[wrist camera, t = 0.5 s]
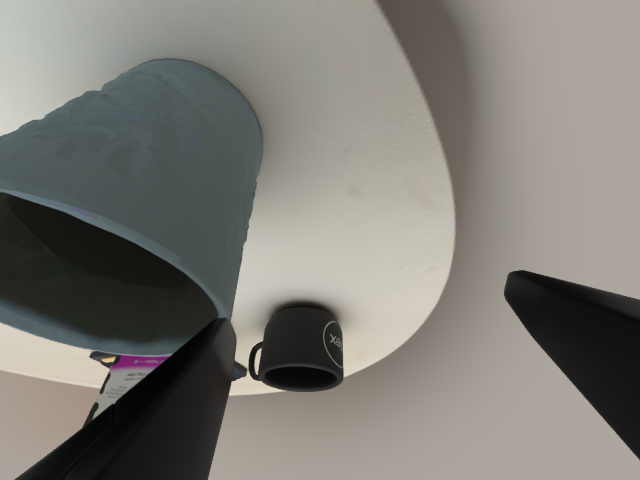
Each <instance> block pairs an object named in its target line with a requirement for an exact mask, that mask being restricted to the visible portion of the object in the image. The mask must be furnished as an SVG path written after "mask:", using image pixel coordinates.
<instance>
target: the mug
mask: <svg viewBox="0 0 640 480" xmlns="http://www.w3.org/2000/svg"><path fill="white" fill-rule="evenodd" d="M260 348H262V351H261V358H260V364H259V370H258V375H256V373H255V366H254V363H255V356H256V353H257V351H258V350H259V349H260ZM249 373H250V375H251V377H252V378H253V379H254V380H257V381H262V382H263V383H265V384H266V385H268V386H271V387H274V388H277V389H281V390H287V391H295V392H314V391H315V392H316V391H323V390H328V389H331V388H334V387H336V386H338V385H339V384H340V383H341V382H342V381H343V342H342V331H341V327H340V325H339V323H338V322H337V320H336V319H335V318H334V317H333V316H332V315H331V314H329V313H327V312H325V311H323V310H319V309H315V308H310V307H294V308H288V309H284V310H281V311H279V312H277V313H276V314H275V315H273V317H272V318H271V319H270V320H269V322H268V324H267V326H266V328H265V332H264V338H263V341H262V342H260V343H258V344H256V345H255V346H254V347H253V348H252V350H251V353H250V356H249Z"/></svg>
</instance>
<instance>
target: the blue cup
mask: <svg viewBox="0 0 640 480" xmlns="http://www.w3.org/2000/svg"><path fill="white" fill-rule="evenodd" d="M262 154H263V139H262V134H261V130H260V126H259V123H258V121H257V118H256V116H255V114H254V112H253V111H252V109H251V107H250V105H249V104H248V102H247V101H246V100H245V99H244V97H243V96H242V95H241V94H240V93H239V92H238V91H237V90H236V89H235V88H234V87H233V86H232V85H231V84H230V83H229V82H228V81H226V80H225V79H224V78H223V77H221V76H219V75H218V74H216V73H214V72H213V71H211V70H209V69H208V68H205V67H203V66H201V65H199V64H195V63H192V62H188V61H182V60H176V59H159V60H151V61H148V62H145V63H142V64H140V65H139V66H137V67H135V68H133V69H131V70H129V71H128V72H126V73H123V74H121V75H120V76H118V77H117V78H116V79H115V80H113V81H111V82H109V83H107V84H104V86H103V88H102V90H101V91H87V92H85V93H84V94H83V95H81V96H80V97H77V98H75V99H72V100H70V101H68V102H67V103H66V104H64V105H63V106H62V107H60V108H57V109H56V110H54V111H52V112H50V113H49V114H47V115H46V116H45V118H43V119H41V120H32V121H30V122H28V123H26V124H24V125H22V126H21V127H20V128H19V129H18V130H16V131H14V132H12V133H9V134H6V135H2V136H1V137H0V323H3V324H5V325H8V326H10V327H13V328H16V329H19V330H21V331H24V332H27V333H30V334H32V335H35V336H39V337H42V338H45V339H48V340H52V341H55V342H59V343H63V344H67V345H71V346H74V347H78V348H83V349H88V350H94V351H99V352H104V353H110V354H117V355H127V356H143V357H166V356H171V355H172V354H173V353H174V352H176V351H177V350H178V349H179V348H180V347H182V346H183V345H184V344H185V343H186V342H188V341H189V340H190V339H191V338H192V337H194V336H195V335H196V334H197V333H198V332H200V331H201V330H202V329H203V328H204V327H206V326H207V325H208V324H209V323H211V322H212V321H213V320H214V319H216V318H222V317H227V318H229V320H230V322H231V317H232V311H233V305H234V299H235V294H236V288H237V283H238V277H239V271H240V266H241V261H242V252H243V245H244V243H245V242H246V239H247V231H248V228H249V219H250V217H251V213H252V210H253V200H254V196H255V189H256V185H257V182H256V178H257V176H258V174H259V171H260V166H261V161H262Z"/></svg>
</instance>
